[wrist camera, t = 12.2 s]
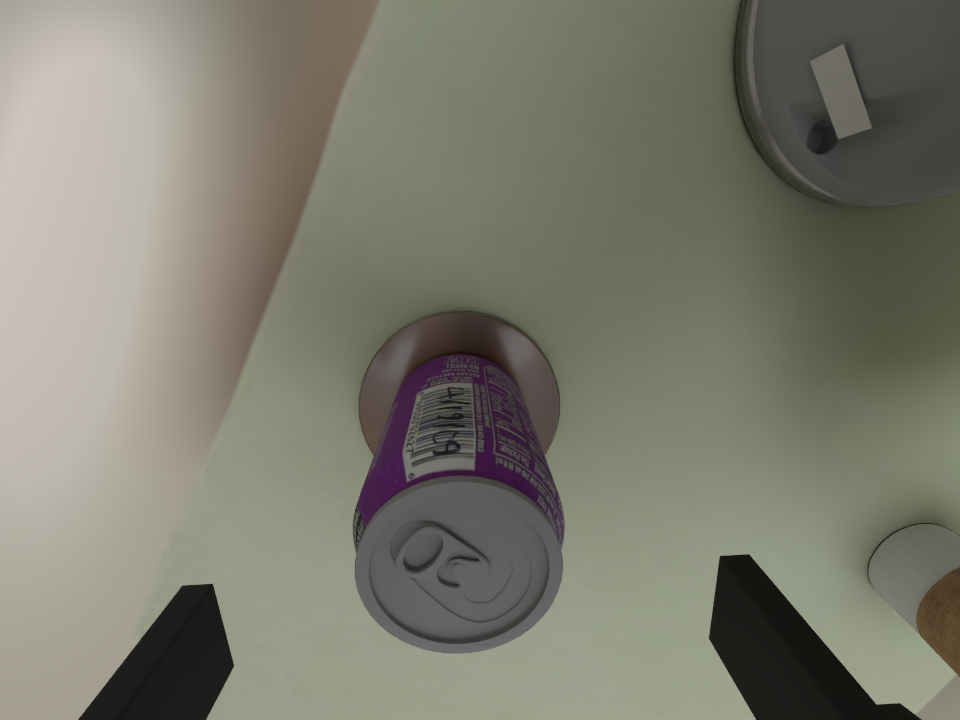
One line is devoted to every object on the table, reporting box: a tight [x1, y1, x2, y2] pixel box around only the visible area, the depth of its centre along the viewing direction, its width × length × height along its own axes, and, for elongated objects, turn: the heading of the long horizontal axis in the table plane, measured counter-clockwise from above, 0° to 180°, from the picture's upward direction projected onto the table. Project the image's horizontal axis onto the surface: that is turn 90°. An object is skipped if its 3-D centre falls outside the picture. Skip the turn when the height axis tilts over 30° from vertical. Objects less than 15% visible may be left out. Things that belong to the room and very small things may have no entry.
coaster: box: [359, 311, 560, 455], centre depth 25 cm, size 11×11×1 cm
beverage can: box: [353, 354, 565, 653], centre depth 19 cm, size 7×7×12 cm
